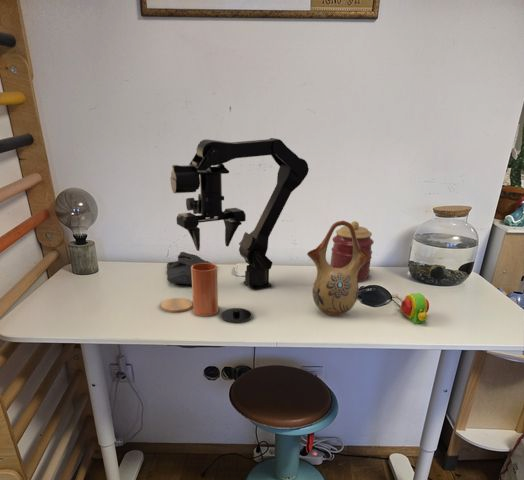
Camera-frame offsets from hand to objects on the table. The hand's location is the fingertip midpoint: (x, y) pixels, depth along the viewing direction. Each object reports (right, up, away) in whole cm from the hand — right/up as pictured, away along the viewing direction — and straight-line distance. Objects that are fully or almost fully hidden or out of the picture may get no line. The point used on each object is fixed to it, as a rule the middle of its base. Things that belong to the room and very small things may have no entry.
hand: (212, 248), depth 133 cm
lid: (+7, -20, -9) cm, 23 cm away
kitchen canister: (+43, -5, +21) cm, 48 cm away
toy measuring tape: (+54, -18, -3) cm, 57 cm away
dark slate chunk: (-10, -5, +18) cm, 21 cm away
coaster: (-10, -17, -4) cm, 20 cm away
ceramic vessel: (+33, -19, -6) cm, 39 cm away
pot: (-1, -18, -7) cm, 20 cm away
